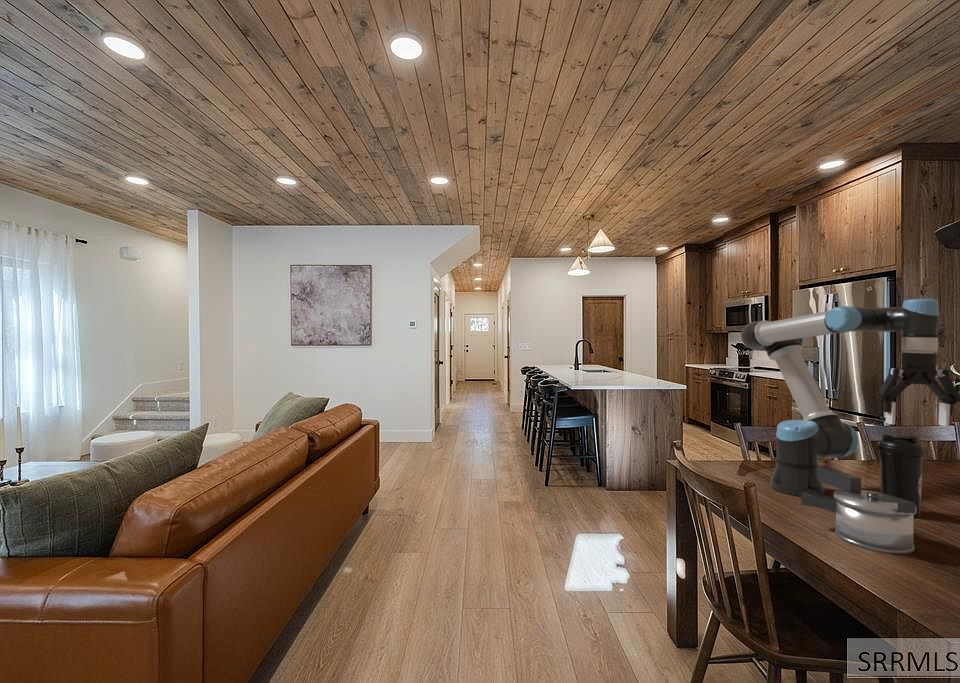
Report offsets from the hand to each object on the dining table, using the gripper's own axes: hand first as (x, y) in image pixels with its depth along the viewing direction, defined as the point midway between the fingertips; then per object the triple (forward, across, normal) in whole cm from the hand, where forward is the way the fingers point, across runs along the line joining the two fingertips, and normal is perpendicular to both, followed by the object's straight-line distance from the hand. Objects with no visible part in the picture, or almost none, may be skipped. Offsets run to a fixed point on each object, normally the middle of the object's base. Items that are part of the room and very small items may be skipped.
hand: (916, 424), depth 133 cm
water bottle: (+27, +2, -2) cm, 27 cm away
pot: (+26, +27, +19) cm, 42 cm away
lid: (+17, +24, +18) cm, 35 cm away
